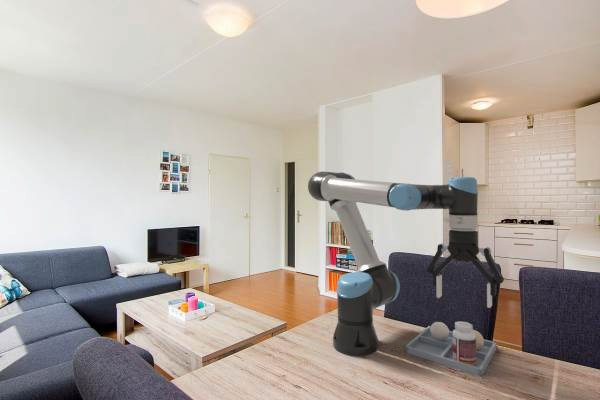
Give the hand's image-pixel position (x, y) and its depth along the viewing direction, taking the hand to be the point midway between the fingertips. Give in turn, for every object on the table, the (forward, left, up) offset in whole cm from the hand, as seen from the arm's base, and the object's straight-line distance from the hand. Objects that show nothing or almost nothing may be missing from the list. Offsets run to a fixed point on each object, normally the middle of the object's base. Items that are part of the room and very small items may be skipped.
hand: (463, 301), depth 93 cm
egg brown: (0, +10, -18) cm, 20 cm away
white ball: (-10, +10, -18) cm, 23 cm away
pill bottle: (0, 0, -18) cm, 18 cm away
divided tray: (-5, +5, -19) cm, 20 cm away
